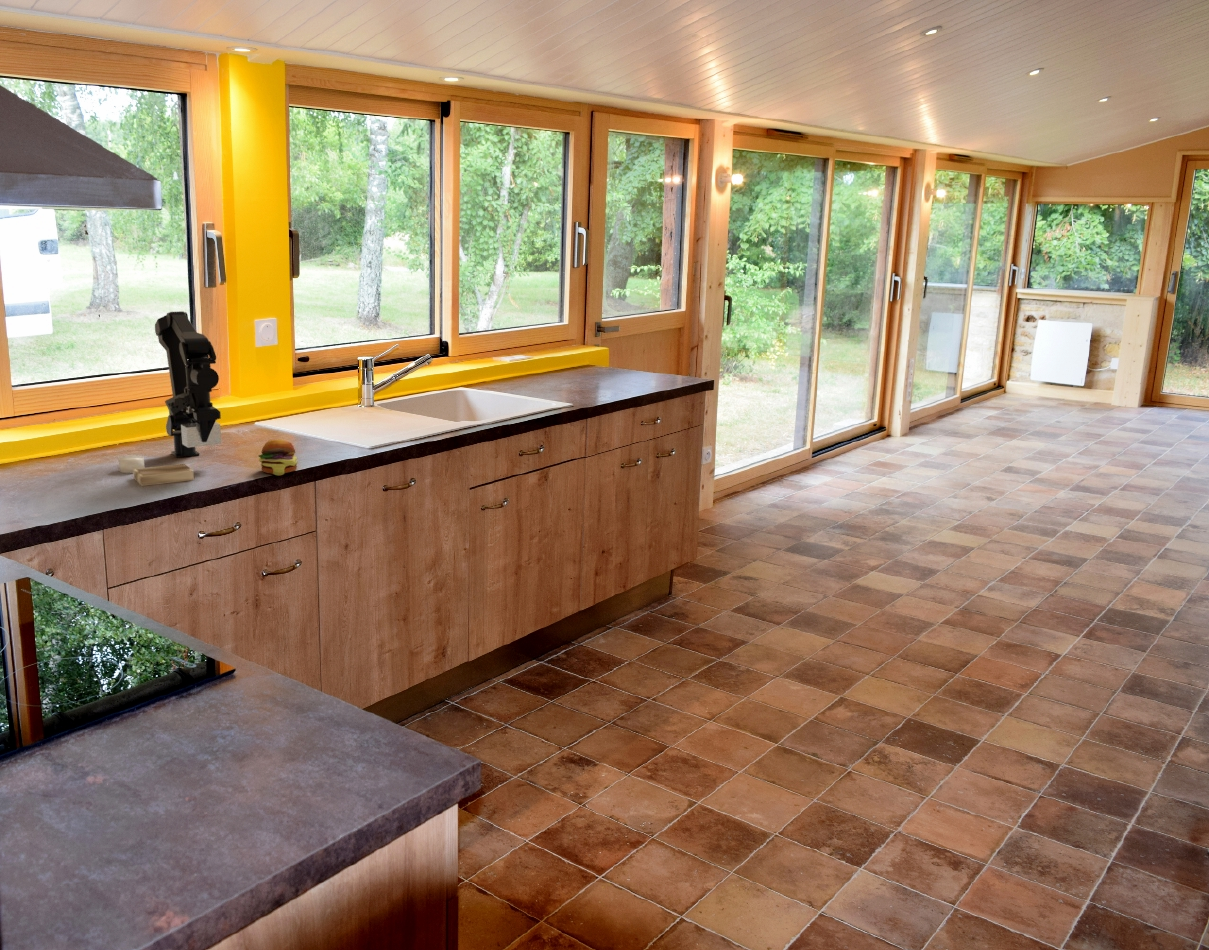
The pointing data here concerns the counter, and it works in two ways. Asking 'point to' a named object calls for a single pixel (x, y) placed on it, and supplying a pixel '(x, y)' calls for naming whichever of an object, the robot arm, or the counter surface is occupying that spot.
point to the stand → (163, 474)
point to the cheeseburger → (278, 457)
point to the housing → (193, 436)
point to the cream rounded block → (130, 463)
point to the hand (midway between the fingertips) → (201, 440)
